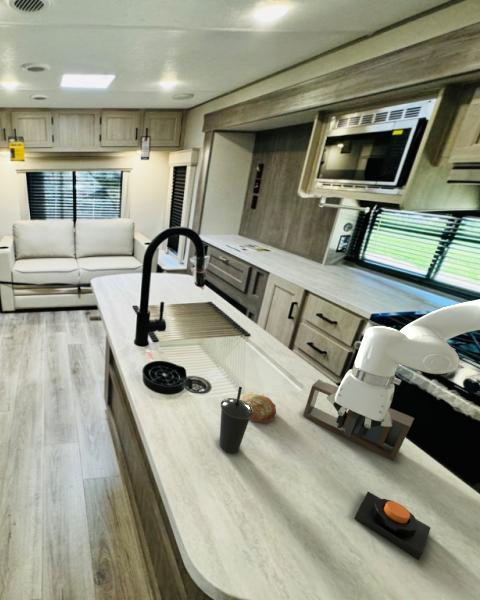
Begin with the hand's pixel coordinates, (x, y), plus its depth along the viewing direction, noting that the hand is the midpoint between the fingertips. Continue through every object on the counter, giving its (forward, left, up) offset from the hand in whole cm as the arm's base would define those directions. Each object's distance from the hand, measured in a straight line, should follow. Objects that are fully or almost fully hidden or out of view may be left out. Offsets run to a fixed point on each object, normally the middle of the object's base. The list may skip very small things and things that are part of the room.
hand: (350, 430), depth 85 cm
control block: (-13, +20, -5) cm, 24 cm away
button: (-13, +19, -1) cm, 23 cm away
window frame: (+1, -5, -5) cm, 7 cm away
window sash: (-2, -2, -3) cm, 4 cm away
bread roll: (+21, +7, -5) cm, 23 cm away
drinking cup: (+19, +27, -5) cm, 33 cm away
